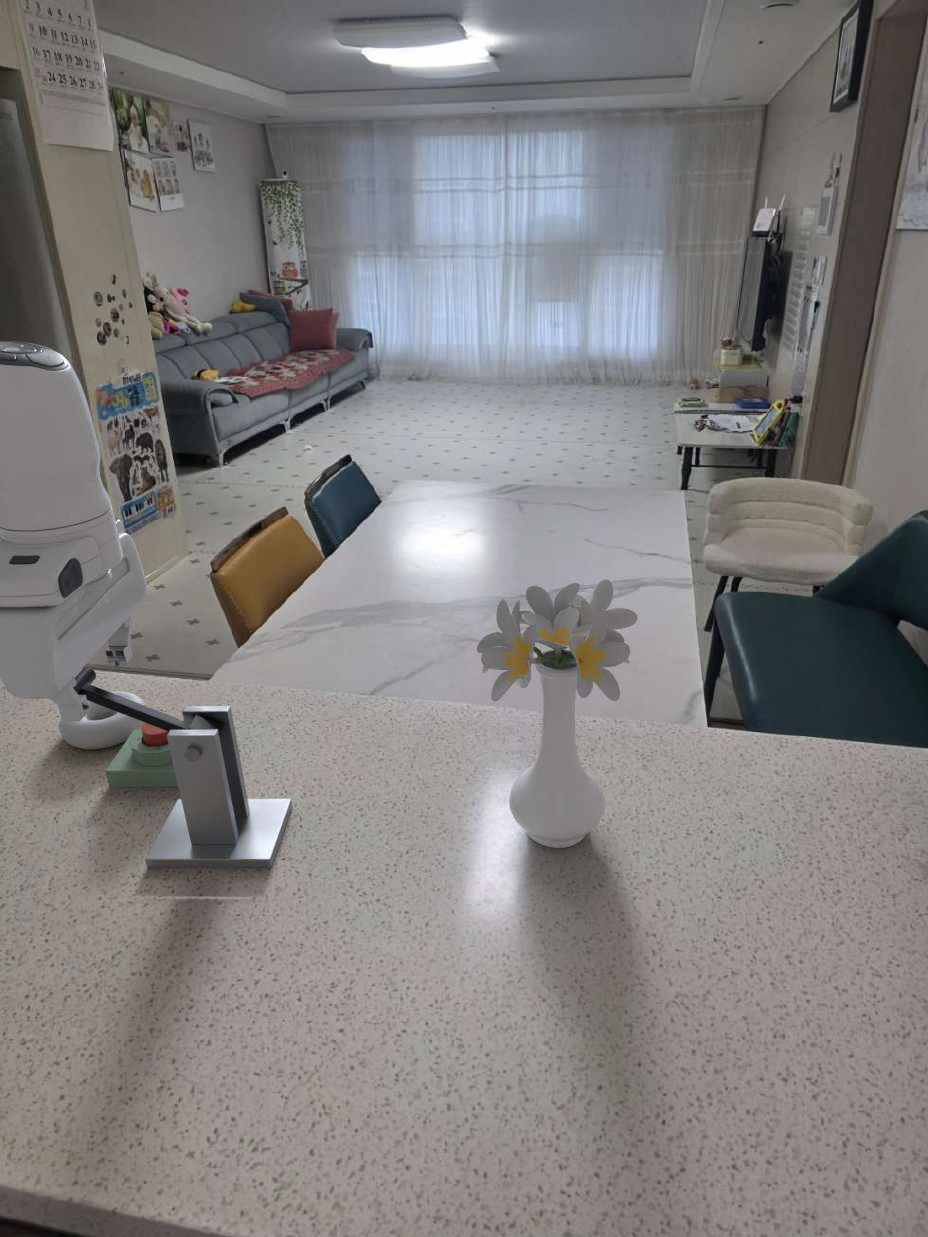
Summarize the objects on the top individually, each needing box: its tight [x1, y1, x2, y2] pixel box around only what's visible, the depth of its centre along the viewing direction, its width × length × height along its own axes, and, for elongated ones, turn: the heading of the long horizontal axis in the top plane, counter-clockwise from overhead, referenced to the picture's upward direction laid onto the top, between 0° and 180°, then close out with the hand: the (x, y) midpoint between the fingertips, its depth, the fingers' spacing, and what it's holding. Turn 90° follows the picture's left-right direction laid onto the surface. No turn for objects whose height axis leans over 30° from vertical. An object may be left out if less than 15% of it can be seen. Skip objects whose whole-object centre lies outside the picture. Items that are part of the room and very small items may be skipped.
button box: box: [105, 728, 178, 788], centre depth 92 cm, size 10×8×4 cm
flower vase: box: [476, 578, 639, 849], centre depth 77 cm, size 13×18×25 cm
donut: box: [58, 690, 147, 750], centre depth 99 cm, size 10×4×10 cm
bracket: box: [144, 705, 294, 870], centre depth 79 cm, size 12×9×14 cm
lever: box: [56, 667, 224, 738], centre depth 76 cm, size 14×5×2 cm, turn 89°
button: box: [142, 723, 169, 747], centre depth 91 cm, size 4×4×2 cm
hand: (100, 688), depth 75 cm, fingers open, 8 cm apart
